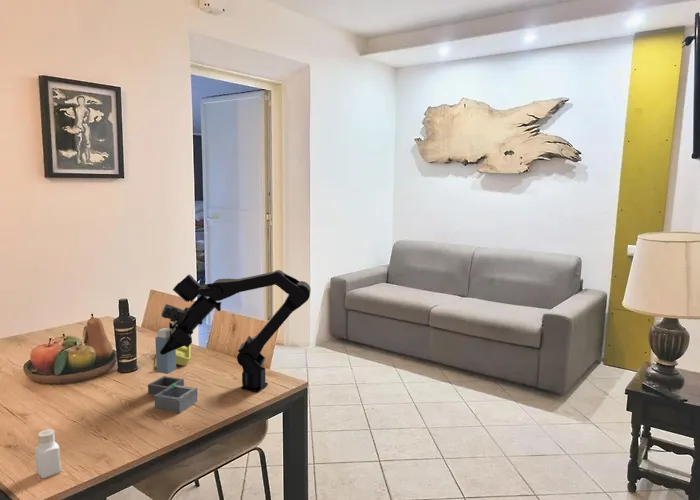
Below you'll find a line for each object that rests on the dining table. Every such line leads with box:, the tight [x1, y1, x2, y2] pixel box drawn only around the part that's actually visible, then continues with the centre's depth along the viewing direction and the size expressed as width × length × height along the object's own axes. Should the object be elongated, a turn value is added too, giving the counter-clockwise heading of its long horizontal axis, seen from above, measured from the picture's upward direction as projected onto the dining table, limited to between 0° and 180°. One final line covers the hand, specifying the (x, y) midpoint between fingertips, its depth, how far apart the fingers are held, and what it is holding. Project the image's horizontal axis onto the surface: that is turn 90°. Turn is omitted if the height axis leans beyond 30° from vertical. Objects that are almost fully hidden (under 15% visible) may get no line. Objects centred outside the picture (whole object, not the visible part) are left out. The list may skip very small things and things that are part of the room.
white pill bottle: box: [34, 428, 62, 479], centre depth 110 cm, size 4×4×10 cm
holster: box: [147, 375, 185, 396], centre depth 154 cm, size 7×7×3 cm
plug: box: [155, 327, 177, 375], centre depth 152 cm, size 4×4×13 cm
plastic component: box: [153, 343, 192, 369], centre depth 183 cm, size 20×7×10 cm
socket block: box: [153, 383, 198, 414], centre depth 145 cm, size 8×8×4 cm
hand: (160, 350), depth 152 cm, fingers closed on plug, 6 cm apart
